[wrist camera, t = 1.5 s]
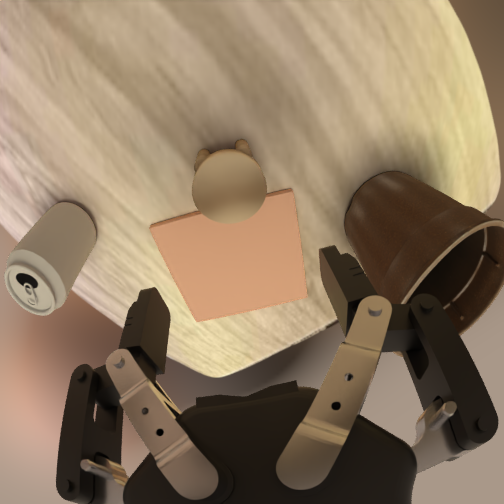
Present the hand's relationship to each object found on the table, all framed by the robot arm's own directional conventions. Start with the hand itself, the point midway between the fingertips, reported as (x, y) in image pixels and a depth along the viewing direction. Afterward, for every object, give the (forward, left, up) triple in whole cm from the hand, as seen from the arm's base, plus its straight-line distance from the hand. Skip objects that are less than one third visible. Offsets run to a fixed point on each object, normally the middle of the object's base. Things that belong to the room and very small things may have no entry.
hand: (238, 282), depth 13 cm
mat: (+12, -2, -17) cm, 21 cm away
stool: (0, 0, -17) cm, 17 cm away
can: (+1, -20, -18) cm, 27 cm away
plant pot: (+10, +18, -18) cm, 27 cm away
